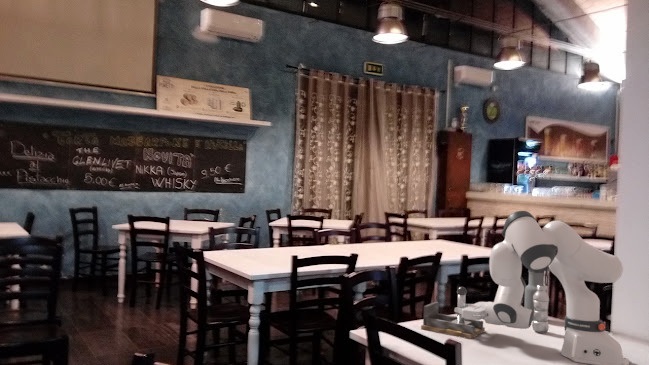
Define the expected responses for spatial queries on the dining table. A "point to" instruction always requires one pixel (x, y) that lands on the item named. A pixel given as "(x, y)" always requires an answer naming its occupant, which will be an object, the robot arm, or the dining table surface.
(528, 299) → the water bottle
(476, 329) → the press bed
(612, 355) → the robot arm
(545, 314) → the plastic bottle
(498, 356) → the dining table surface
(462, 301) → the press sled
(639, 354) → the dining table surface
